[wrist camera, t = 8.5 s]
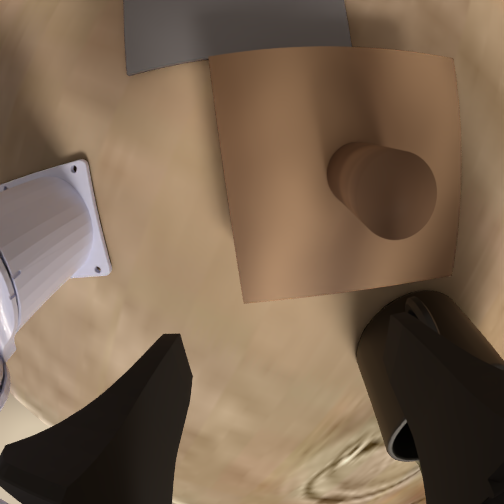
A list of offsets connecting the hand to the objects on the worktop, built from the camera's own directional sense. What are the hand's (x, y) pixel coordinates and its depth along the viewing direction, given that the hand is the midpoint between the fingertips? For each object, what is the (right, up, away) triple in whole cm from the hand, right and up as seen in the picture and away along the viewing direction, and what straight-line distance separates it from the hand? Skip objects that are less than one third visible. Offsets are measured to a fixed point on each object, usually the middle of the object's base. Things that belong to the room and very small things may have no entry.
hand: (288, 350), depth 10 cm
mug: (+11, -3, +12) cm, 16 cm away
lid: (+4, +7, +4) cm, 9 cm away
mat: (-3, +20, +2) cm, 21 cm away
